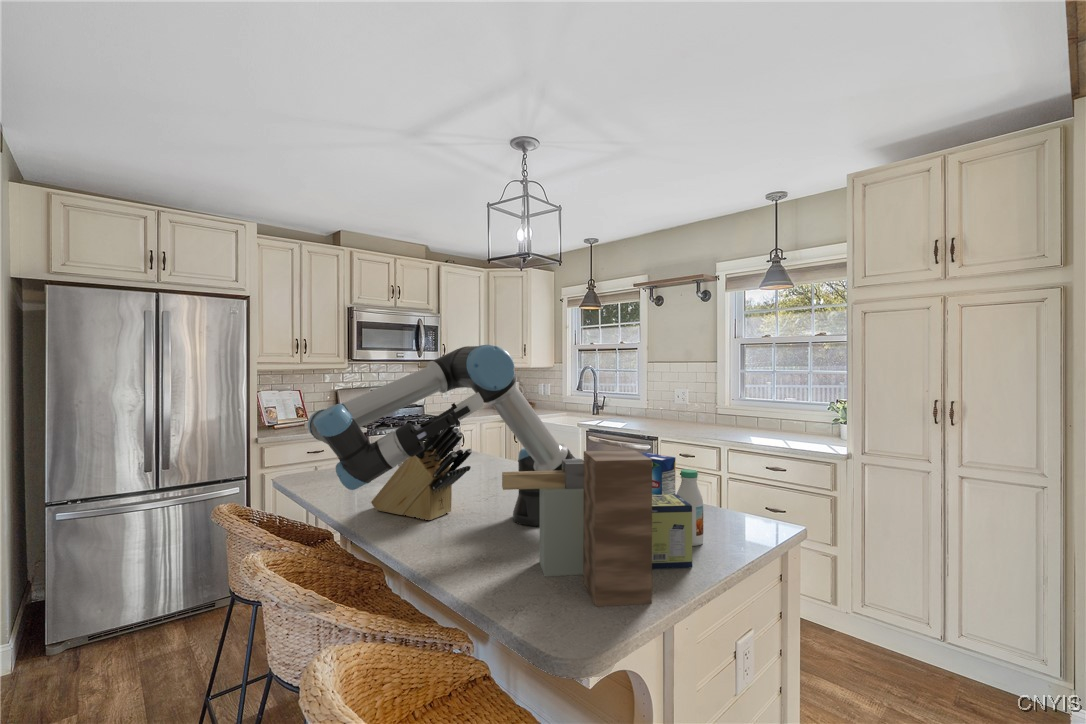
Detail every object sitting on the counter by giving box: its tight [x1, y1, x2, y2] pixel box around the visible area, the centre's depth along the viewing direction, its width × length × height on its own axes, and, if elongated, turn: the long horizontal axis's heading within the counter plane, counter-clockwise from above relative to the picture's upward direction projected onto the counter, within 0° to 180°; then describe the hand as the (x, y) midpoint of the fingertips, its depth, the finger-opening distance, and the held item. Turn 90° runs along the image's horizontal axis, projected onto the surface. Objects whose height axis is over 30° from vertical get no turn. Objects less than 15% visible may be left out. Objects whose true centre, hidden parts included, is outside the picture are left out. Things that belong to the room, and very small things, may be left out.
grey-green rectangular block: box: [538, 488, 584, 578], centre depth 125 cm, size 9×13×20 cm
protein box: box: [652, 493, 693, 570], centre depth 130 cm, size 10×16×16 cm
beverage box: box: [640, 452, 677, 495], centre depth 155 cm, size 7×11×22 cm, turn 40°
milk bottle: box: [675, 468, 704, 547], centre depth 144 cm, size 8×8×20 cm
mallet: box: [501, 458, 584, 491], centre depth 125 cm, size 6×20×6 cm, turn 97°
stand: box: [582, 449, 653, 608], centre depth 112 cm, size 12×12×30 cm
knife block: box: [370, 424, 473, 521], centre depth 169 cm, size 11×35×31 cm, turn 61°
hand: (481, 398), depth 123 cm, fingers open, 13 cm apart
